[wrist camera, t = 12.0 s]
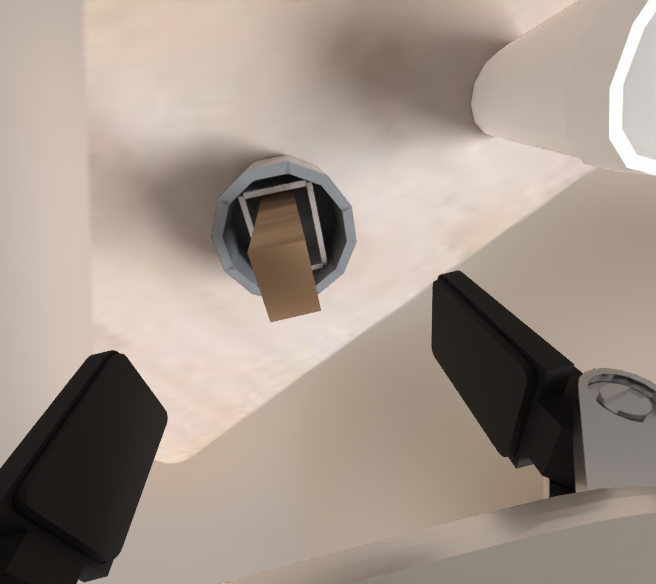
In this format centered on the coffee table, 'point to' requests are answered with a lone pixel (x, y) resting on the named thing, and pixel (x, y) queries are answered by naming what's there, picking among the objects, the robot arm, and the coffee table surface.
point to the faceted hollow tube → (331, 210)
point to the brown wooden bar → (282, 258)
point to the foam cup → (578, 86)
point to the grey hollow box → (282, 184)
